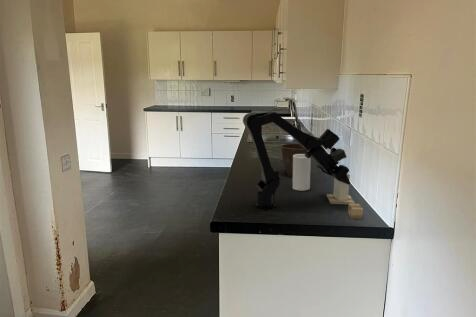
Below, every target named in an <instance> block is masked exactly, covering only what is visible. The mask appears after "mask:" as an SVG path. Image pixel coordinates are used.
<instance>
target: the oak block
mask: <svg viewBox="0 0 476 317" xmlns="http://www.w3.org/2000/svg"><path fill="white" fill-rule="evenodd" d="M347 211H348V212H347V213H348V215H349V217H350V219H351V220H363V219H364V218H363V215H364V209H363V207H362V206H361V204H360V203H355V204H348V209H347Z"/></svg>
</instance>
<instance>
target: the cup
mask: <svg viewBox="0 0 476 317" xmlns="http://www.w3.org/2000/svg"><path fill="white" fill-rule="evenodd" d="M311 157H312V156H311ZM311 157H310V158H307V157H305V154H295V155H293V176H292V189H293V190H295V191H302V192H303V191H308V190H310V189H311V162H312V160H311Z"/></svg>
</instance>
